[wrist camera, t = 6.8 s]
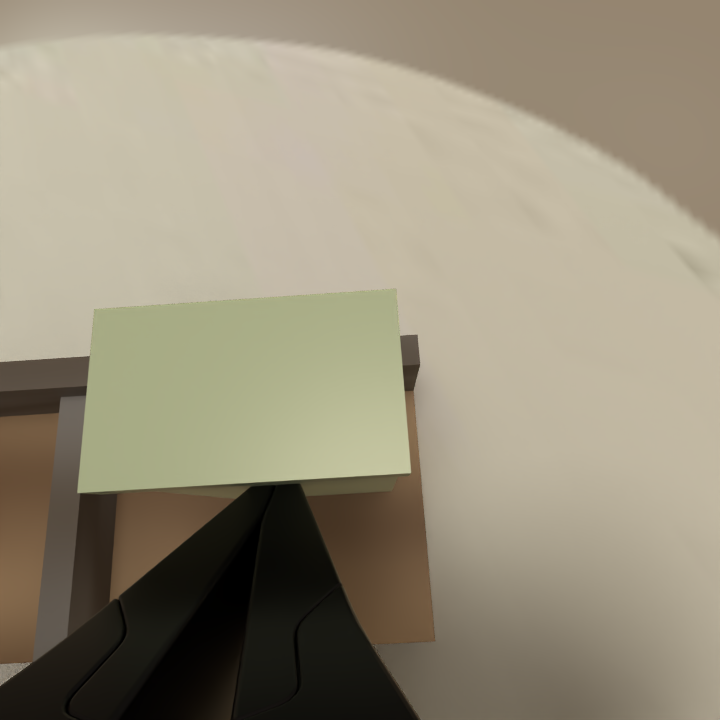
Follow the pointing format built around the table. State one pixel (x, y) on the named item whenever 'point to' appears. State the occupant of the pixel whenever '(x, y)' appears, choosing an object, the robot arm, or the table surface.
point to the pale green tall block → (247, 396)
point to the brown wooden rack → (168, 523)
